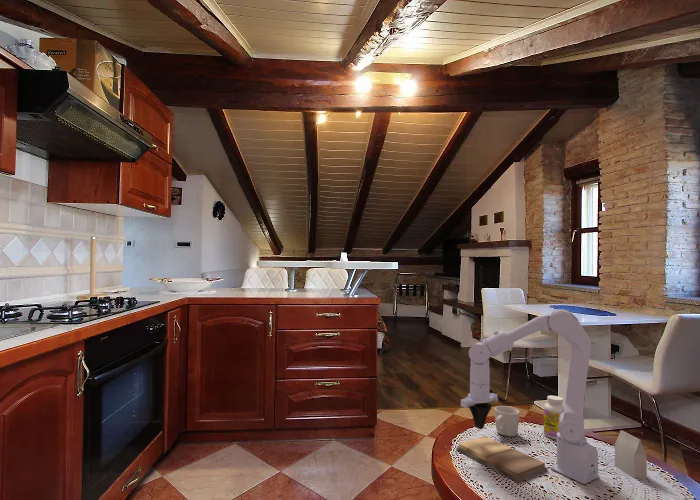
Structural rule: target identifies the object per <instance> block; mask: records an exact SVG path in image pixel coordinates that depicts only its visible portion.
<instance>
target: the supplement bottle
mask: <svg viewBox="0 0 700 500" xmlns="http://www.w3.org/2000/svg"><path fill="white" fill-rule="evenodd" d="M546 400H547V403H544V406H543V434H544V436H546V437H547V438H549V439H551V440H556V441H557V433H558V432H559V430H558V425H559V415H560V413H561V412H562V411H563V409H564V404H563V403H564V398H562V397H561V396H558V395H547V398H546Z"/></svg>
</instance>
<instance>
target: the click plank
mask: <svg viewBox="0 0 700 500" xmlns="http://www.w3.org/2000/svg"><path fill="white" fill-rule="evenodd" d="M458 447H459V448H461V449H463V450H465V451H467V452H469V453H471V454H473V455H475V456H476V457H478V458H480V459H482V460H484V461H486V457H489V456H492V455H495V454H498V453H501V452H504V451H507V450H510V449H513V448H512V447H510V446H508V445H506V444H505V443H501V442H499V441H496V440H495V439H493V438H490V437H488V436H486V435H484V436H480V437H477V438H475V439H470V440H467V441H463V442H460V443H459V444H458Z"/></svg>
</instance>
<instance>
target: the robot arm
mask: <svg viewBox="0 0 700 500" xmlns="http://www.w3.org/2000/svg"><path fill="white" fill-rule="evenodd" d="M551 330H552V332H554V333H556V334H558V335H559V336H561V337H562V338H564V340H565V341H566V342H567V343H568V345H570V346H571V349H570V357H569V366H568V374H567V382H566V389H565V398H564V402H563V403H564V404H563V406H564V409H563V411H562V412H561V413H560V415H559V425H558V430H559V432H558V433H557V440H556V463H554V464H552V465H550V466H549V469H551V470H553V471H555V472H557V473H560V474H561V475H563V476H566V477H567V478H570V479H571V480H574V481H576V482H578V483H581V484H584V485H585V484H588V483H590V482H592V481H594V480H596V479H598V478H600V474H599V452H598V449H597V448H596V447H595V446H593V445H591V444H590V443H588V441H587V440H588V439H587V437H586V430H585V419H584V406H585V396H586V395H585V394H586V389H587V379H588V378H587V377H588V372H589V363H590V354H591V346H592V342H591V339H590V337H589V335H588V334H587V332H586V331H585V329H584V328H583V326H582V324H581V322H580V321H579V319H578V318H577V317H576V315H574V314H573V313H572V312H571V311H569V310H567V309H564V308H557V309H555V310H553V311H552V312H546V313H545V314H541V315H539V316H536V317H534V318H532V319H531V320H528V321H527V322H525V323H524V324H521V325H519V326H518V327H516V328H514V329H512V330H510V331H505V330H500V331H499V330H495V331H494V332H493V334H492V335H490V336H488V337H487V338H481V339H480V340H479V341H480V342H476V343H474V344H473V345H471V347H470V348H469V350H468V357H469V359H470V367H469V393H468V394H467V396H466V397H465V398H462V399H460V407H462V408H464V409H468V408H469V411H470V412H471V416H472V418H473V422H474V423H473V424H474V427H475V428H476V429H479V430H483V429H484V428H485V424H486V421H487V418H488V414H489V413H490V411H491V410H492V404H489V403H490V402H493V401H494V402H498V399H499V398H498V394H496V393H493V392H491V393H490V385H491V384H490V381H491V380H490V378H491V377H490V371H491V370H490V358H495V357H497V356H499V355H501V354H503V353H504V352H507V351H509V350H512V349H513V348H514V344H515V342H517V341H519V340H521V339H524V338H526V337H528V336H531V335H533V334H535V333H537V332H546V333H549V332H550V331H551Z"/></svg>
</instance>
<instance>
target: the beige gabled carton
mask: <svg viewBox="0 0 700 500" xmlns="http://www.w3.org/2000/svg"><path fill="white" fill-rule="evenodd" d="M647 459H648V457H647V453H646V451H645V449H644V446H643V443H642V440H641V439H639V438H638V437H635V436H634V435H633V434H632V435H631V434H630V433H628V432H626V431H624V430H621V429H620V430H619V434H618V437H617V439H616V441H615V443H614V466H615V467H616V468H618V469H619V470H621V471H622V472H623V473H625V474H627V475H628V476H630V477H631V478H633V479H647V478H648V477H647V476H648V473H647V472H648V470H647V468H648V467H647V465H648V464H647V463H648V462H647V461H648V460H647Z"/></svg>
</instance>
